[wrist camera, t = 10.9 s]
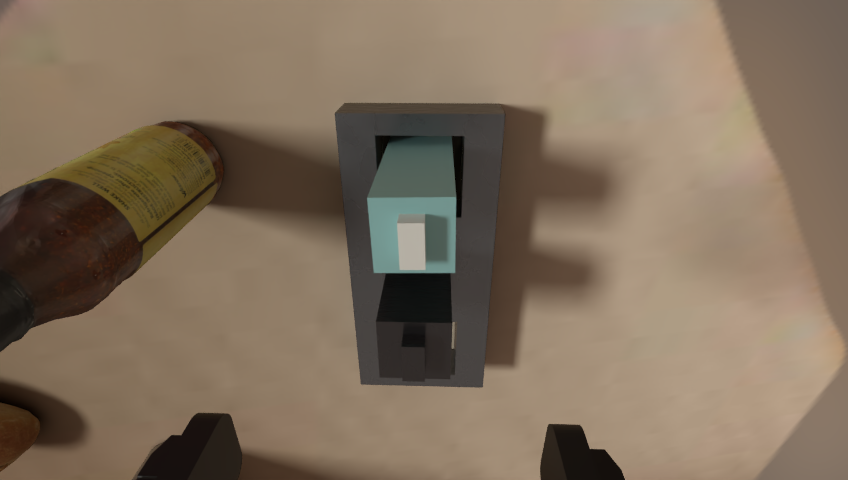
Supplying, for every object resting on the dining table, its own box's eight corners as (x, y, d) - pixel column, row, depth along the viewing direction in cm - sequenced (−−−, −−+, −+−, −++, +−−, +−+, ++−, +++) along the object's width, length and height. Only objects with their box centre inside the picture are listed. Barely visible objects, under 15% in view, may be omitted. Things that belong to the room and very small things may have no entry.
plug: (451, 189, 31) (455, 284, 21) (394, 189, 31) (371, 284, 21) (451, 133, 29) (456, 206, 19) (391, 133, 30) (363, 206, 19)
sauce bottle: (135, 108, 29) (-319, 264, 12) (229, 129, 30) (-74, 309, 12) (143, 197, 32) (-208, 425, 15) (228, 215, 33) (-15, 456, 15)
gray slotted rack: (479, 361, 39) (494, 495, 28) (366, 358, 39) (338, 490, 28) (499, 103, 28) (533, 163, 18) (344, 103, 29) (287, 161, 18)
